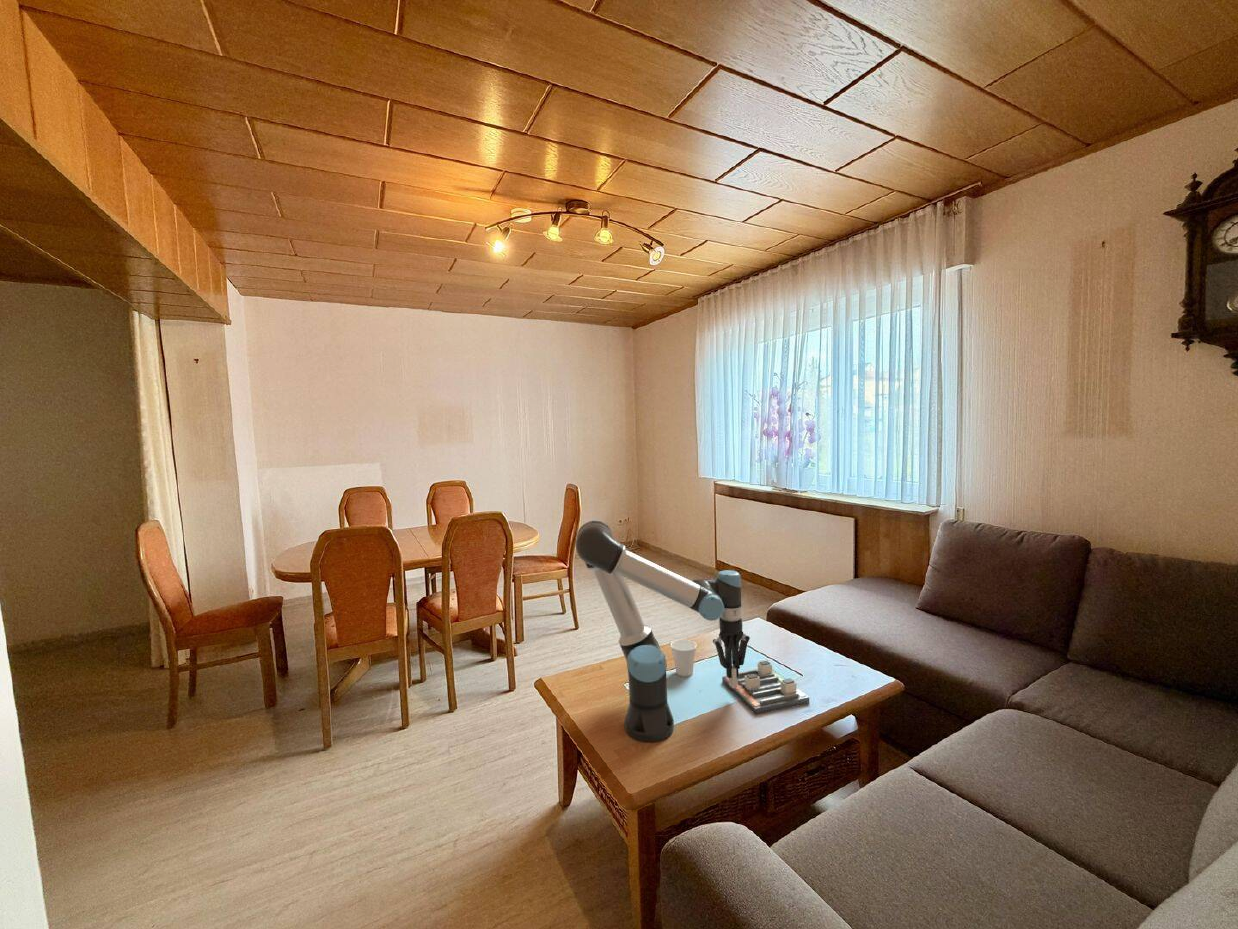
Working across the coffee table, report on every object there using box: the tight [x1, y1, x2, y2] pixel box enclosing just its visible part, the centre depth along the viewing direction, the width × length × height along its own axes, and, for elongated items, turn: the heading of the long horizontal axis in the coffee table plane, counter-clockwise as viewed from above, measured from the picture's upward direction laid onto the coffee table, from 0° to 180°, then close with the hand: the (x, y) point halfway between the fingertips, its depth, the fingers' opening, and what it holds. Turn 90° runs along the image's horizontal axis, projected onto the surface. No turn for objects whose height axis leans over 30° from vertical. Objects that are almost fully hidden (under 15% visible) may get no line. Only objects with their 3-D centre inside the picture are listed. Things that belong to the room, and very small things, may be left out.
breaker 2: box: [757, 660, 773, 676], centre depth 175 cm, size 4×3×4 cm
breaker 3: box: [781, 677, 798, 695], centre depth 162 cm, size 4×3×4 cm
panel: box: [721, 668, 810, 716], centre depth 167 cm, size 20×22×3 cm
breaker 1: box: [745, 674, 760, 690], centre depth 166 cm, size 4×3×4 cm
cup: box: [670, 639, 698, 678], centre depth 183 cm, size 10×10×11 cm
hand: (732, 686), depth 164 cm, fingers closed
